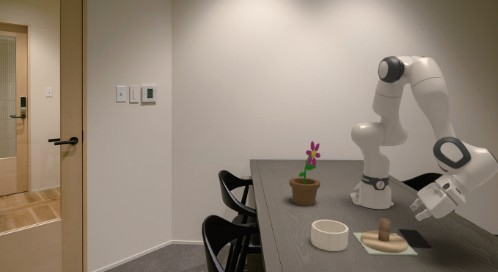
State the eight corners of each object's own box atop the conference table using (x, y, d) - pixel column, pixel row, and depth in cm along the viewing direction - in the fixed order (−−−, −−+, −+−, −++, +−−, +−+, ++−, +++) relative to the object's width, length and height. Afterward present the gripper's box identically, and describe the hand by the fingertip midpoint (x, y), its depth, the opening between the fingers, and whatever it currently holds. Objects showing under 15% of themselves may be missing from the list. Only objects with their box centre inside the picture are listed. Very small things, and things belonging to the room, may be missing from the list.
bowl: (308, 235, 122) (309, 219, 121) (341, 235, 122) (342, 220, 121) (315, 250, 110) (316, 233, 109) (351, 251, 110) (352, 234, 110)
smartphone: (411, 247, 114) (397, 228, 129) (410, 250, 114) (396, 231, 129) (433, 249, 113) (417, 229, 128) (433, 252, 113) (416, 232, 128)
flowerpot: (308, 209, 149) (311, 143, 145) (282, 202, 158) (285, 139, 155) (324, 202, 159) (328, 140, 155) (299, 195, 169) (302, 136, 165)
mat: (352, 233, 124) (352, 232, 124) (395, 234, 125) (395, 233, 125) (369, 254, 108) (369, 253, 108) (417, 255, 109) (417, 254, 109)
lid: (354, 233, 124) (356, 211, 123) (394, 234, 124) (396, 212, 123) (370, 252, 109) (372, 228, 108) (415, 253, 109) (418, 229, 108)
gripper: (434, 174, 119) (402, 197, 123) (452, 189, 100) (413, 216, 103) (447, 187, 118) (414, 210, 122) (467, 205, 99) (427, 232, 103)
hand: (413, 213), depth 113 cm, fingers open, 8 cm apart
